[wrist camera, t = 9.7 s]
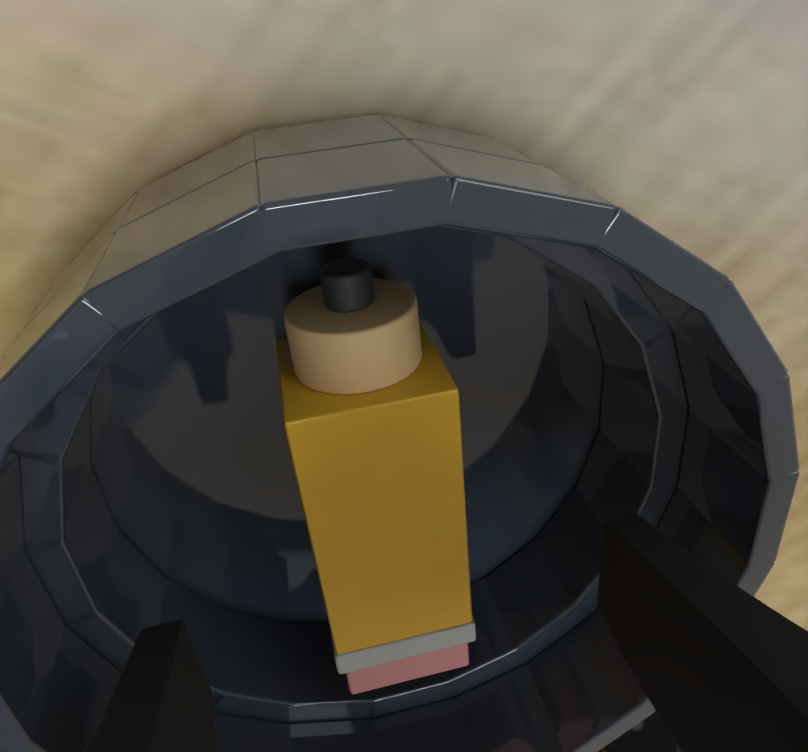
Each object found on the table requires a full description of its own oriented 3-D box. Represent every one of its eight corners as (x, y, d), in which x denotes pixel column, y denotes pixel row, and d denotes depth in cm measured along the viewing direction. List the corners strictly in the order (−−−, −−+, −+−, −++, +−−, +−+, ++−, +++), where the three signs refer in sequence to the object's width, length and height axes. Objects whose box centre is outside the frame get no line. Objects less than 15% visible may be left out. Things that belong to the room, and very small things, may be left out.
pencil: (442, 566, 18) (478, 670, 15) (328, 592, 17) (345, 704, 15) (411, 225, 13) (456, 286, 10) (253, 250, 13) (256, 320, 10)
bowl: (145, 684, 18) (112, 915, 14) (-100, 172, 11) (-344, 294, 7) (616, 570, 20) (727, 740, 16) (667, 69, 13) (901, 107, 8)
